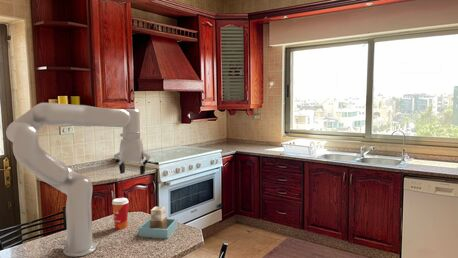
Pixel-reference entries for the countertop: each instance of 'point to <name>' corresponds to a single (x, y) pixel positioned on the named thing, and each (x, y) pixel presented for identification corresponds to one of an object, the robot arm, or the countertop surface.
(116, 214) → the paper cup
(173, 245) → the countertop surface
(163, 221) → the walnut block
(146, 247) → the countertop surface
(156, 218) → the birch block
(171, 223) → the tote
